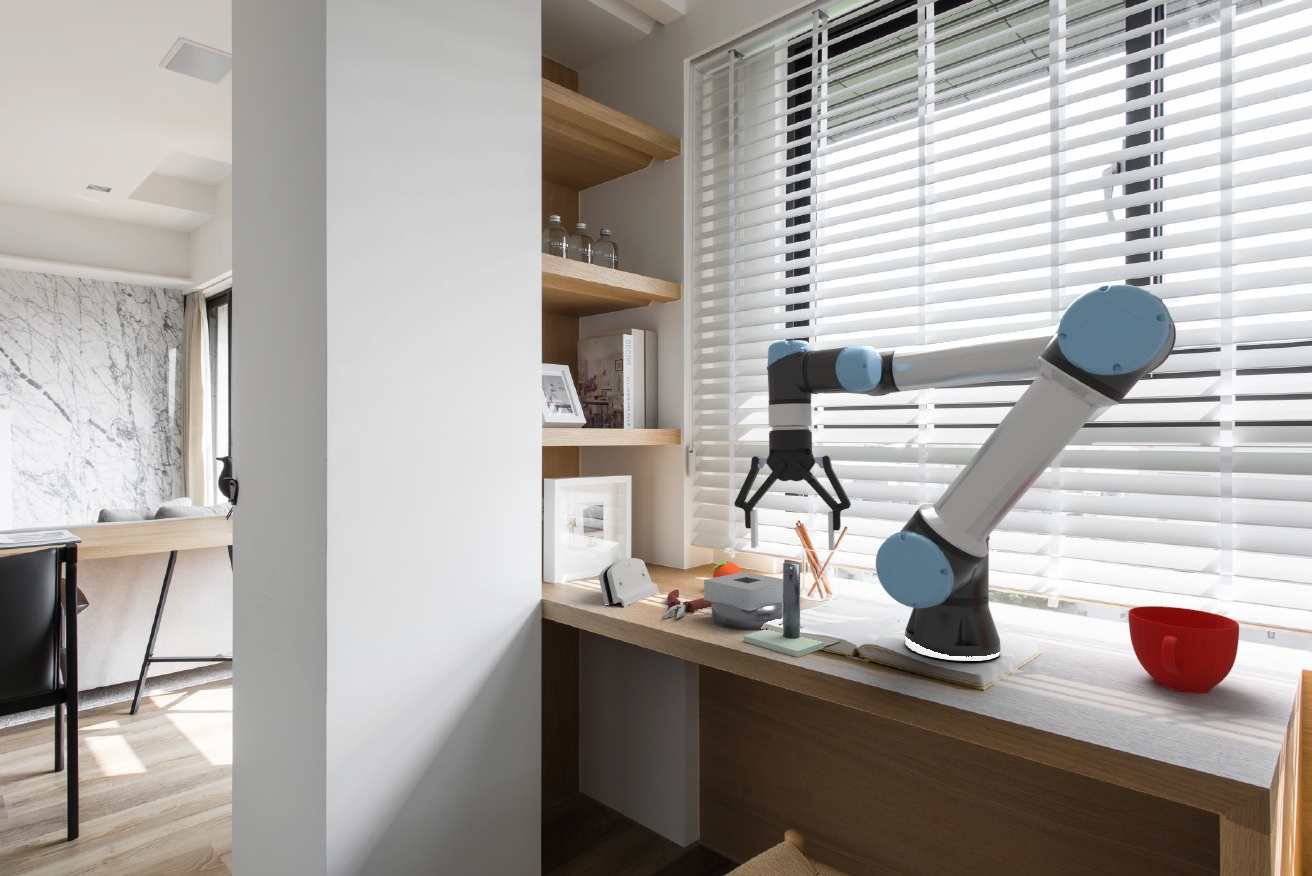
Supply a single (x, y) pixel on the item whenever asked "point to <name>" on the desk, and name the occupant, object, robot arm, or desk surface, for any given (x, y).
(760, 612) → the chuck block
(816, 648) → the sage mat
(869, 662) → the desk surface
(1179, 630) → the ceramic cup
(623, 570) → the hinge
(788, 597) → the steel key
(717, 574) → the clementine
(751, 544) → the robot arm
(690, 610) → the pliers
